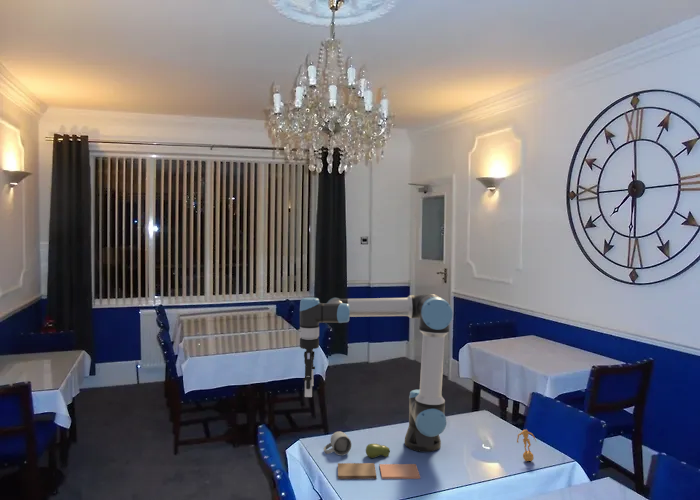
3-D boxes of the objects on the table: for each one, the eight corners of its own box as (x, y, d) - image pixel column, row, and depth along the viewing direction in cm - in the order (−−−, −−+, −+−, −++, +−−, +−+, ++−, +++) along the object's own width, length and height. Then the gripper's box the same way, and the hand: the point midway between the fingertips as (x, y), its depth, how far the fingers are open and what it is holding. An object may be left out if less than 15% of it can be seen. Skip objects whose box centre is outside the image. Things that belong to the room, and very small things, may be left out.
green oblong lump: (364, 441, 209) (387, 442, 212) (362, 454, 209) (384, 455, 212) (370, 446, 204) (392, 447, 207) (368, 460, 204) (390, 460, 207)
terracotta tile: (415, 466, 200) (415, 464, 199) (420, 478, 190) (420, 476, 190) (379, 466, 199) (379, 464, 199) (381, 478, 189) (381, 476, 189)
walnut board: (374, 466, 199) (374, 463, 199) (376, 478, 189) (376, 475, 189) (337, 466, 199) (337, 463, 199) (337, 478, 189) (338, 475, 189)
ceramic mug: (346, 446, 217) (346, 428, 217) (351, 454, 209) (351, 435, 209) (321, 449, 214) (321, 430, 214) (326, 457, 206) (325, 438, 206)
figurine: (520, 464, 202) (521, 434, 202) (513, 457, 208) (514, 428, 208) (540, 462, 204) (541, 432, 203) (532, 456, 210) (533, 426, 209)
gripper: (301, 331, 215) (301, 381, 216) (297, 344, 190) (297, 401, 191) (319, 331, 216) (319, 381, 216) (318, 344, 191) (317, 401, 192)
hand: (309, 391), depth 204 cm, fingers open, 13 cm apart
